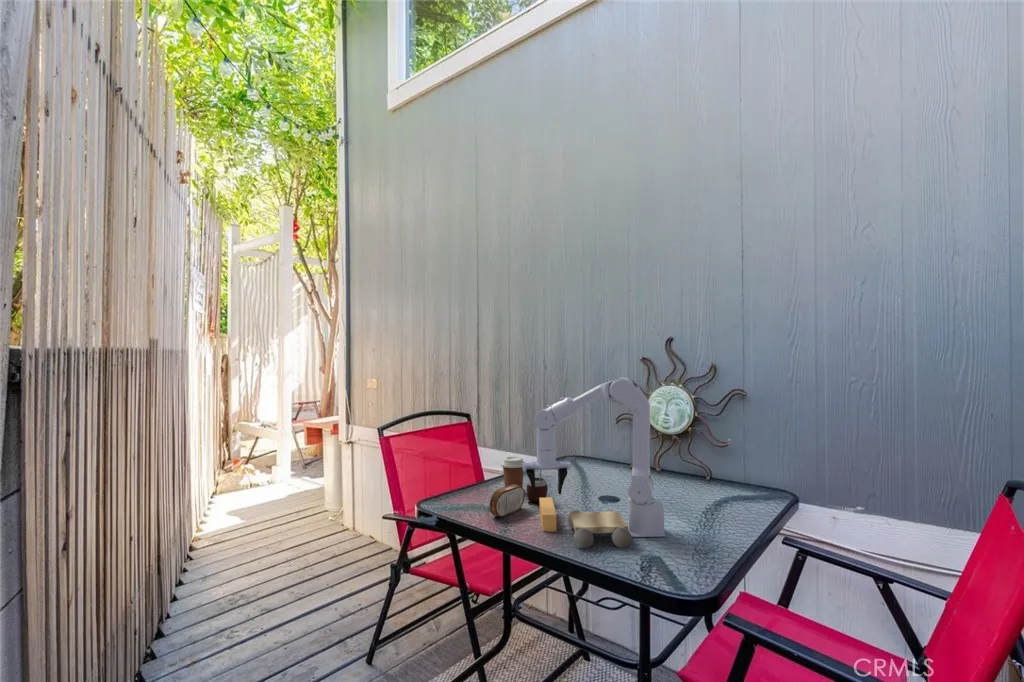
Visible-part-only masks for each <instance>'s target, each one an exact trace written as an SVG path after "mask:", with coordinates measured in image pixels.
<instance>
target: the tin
mask: <svg viewBox="0 0 1024 682" xmlns="http://www.w3.org/2000/svg"><path fill="white" fill-rule="evenodd" d="M524 503H525V489H524V488H522V487H521V486H518V485H516V484H512V485H509V486H506V487H505V486H504V487H502V488H501V487H500V488H498V489H496V490H494V492H493V493H492V495H491V497H490V500H489V512H490V513H491V514H492V516H495V517H499V518H503V517H506V516H508V515H510V513H511V514H513V513H515V512H518V511H519V510H521V508H522V506H523V505H524ZM517 510H518V511H517ZM514 511H515V512H514ZM512 512H513V513H512ZM505 515H506V516H505Z"/></svg>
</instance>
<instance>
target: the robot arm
mask: <svg viewBox="0 0 1024 682" xmlns="http://www.w3.org/2000/svg"><path fill="white" fill-rule="evenodd" d="M601 398H602V399H611V398H613V399H614V400H615V401H617V402H619V403H621V404H623V405H625V406H626V407H627V408H629V409H630V411H632V471H631V481H630V483H629V485H628V487H627V494H628V497H627V498H628V499H627V503H628V504H627V507H628V509H627V511H628V524H627V526H628V531H629V532H630V534H631V537H632V538H646V537H648V538H649V537H650V538H652V537H653V538H654V537H656V538H657V537H659V538H661V537H665V536H666V534H665V509H664V506H663V503H662V500H659V499H655V497H653V495H652V492H653V489H654V481H653V478H652V476H651V467H650V463H651V462H650V458H651V457H650V456H651V455H650V454H651V453H650V450H651V449H650V447H651V445H650V444H651V443H650V442H651V438H650V437H651V404H650V402H649V400H648V399H647V396H645V394H644V392H643V391H642V389H641V388H640V386H639V384H638V383H637V382H636V381H635V380H633V378H631V377H628V376H621V377H619V378H617V379H616V378H615V379H613V380H610V381H606V382H603V383H600V384H599V385H597V386H595V387H594V388H591V389H589V390H587V391H586V392H584V393H582V394H580V395H579V396H576V397H575V398H573V397H570V396H567V397H564V396H562V397H560V398H559V401H557V402H555V403H553V404H547V405H546V408H544V409H540V410H539V411H538V412H536V414H535V415H534V417H533V423H534V425H535V426H536V461H532V462H531V461H530V462H525V463H522V464H523V471H524V472H525V473H526V475H527V477H528V481H529V480H530V482H531V485H532V489H533V495H536V490H535V478H536V473H535V471H540V470H542V471H545V470H546V471H549V470H551V471H552V470H553V471H554V470H557V478H558V479H557V493H558V495H561V494H562V489H563V485H564V483H565V480H566V478H567V476H568V471H571V470H572V468H571V466H572V465H571V462H570V461H557V459H556V458H557V457H556V453H557V452H556V451H557V449H556V446H557V445H556V424H559V423H562V422H564V421H565V420H568V419H570V418H571V417H575V416H576V415H577V414H578V410H579V409H580V408H582V407H584V406H586V405H588V404H590V403H592V402H595V401H597V400H599V399H601Z"/></svg>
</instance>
